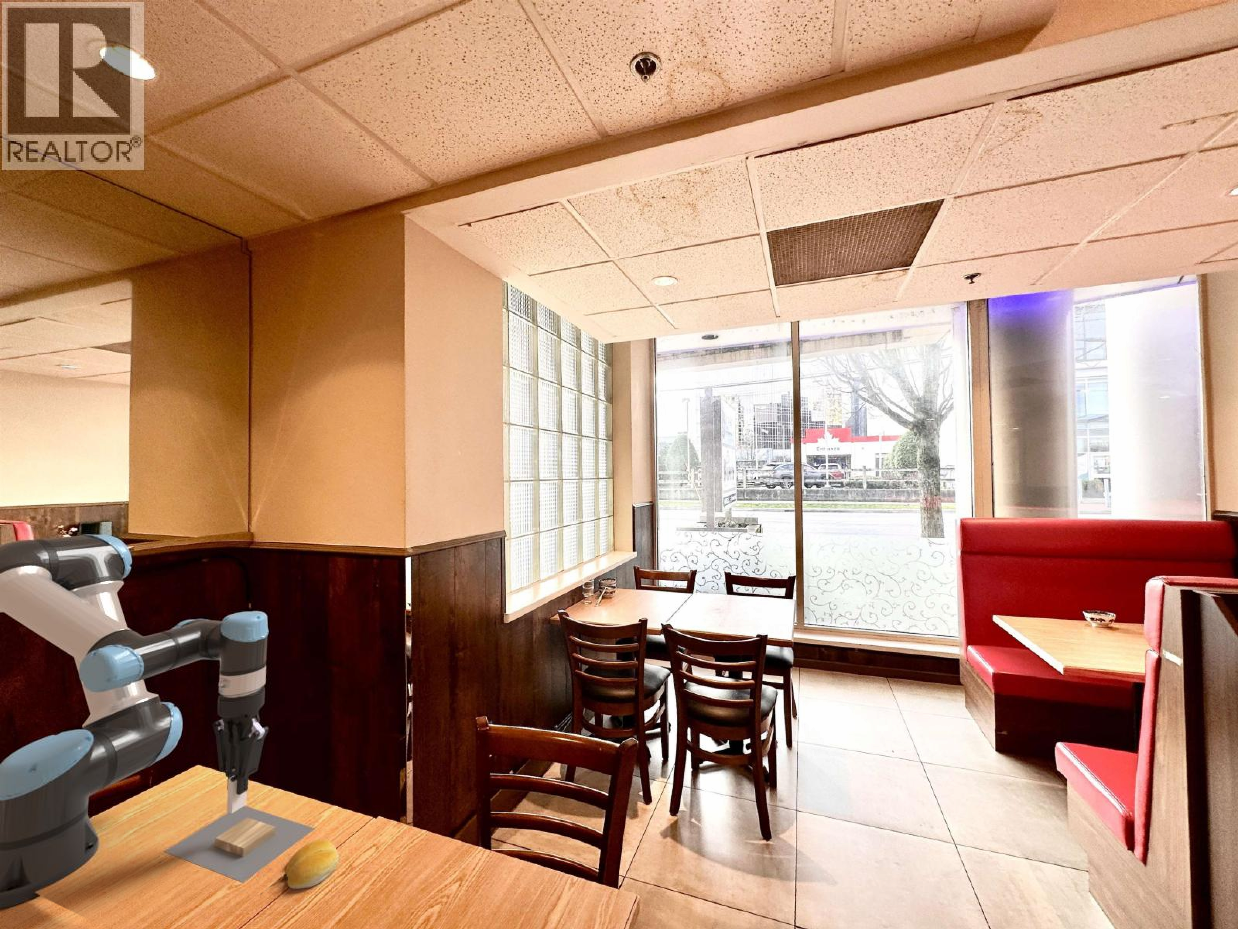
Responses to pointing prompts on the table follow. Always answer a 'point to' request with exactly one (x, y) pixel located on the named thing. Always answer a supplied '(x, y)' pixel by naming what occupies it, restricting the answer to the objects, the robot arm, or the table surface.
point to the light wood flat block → (245, 836)
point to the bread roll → (311, 864)
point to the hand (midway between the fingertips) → (236, 808)
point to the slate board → (237, 867)
